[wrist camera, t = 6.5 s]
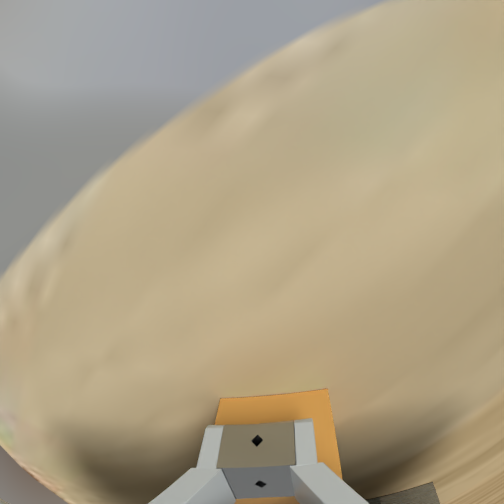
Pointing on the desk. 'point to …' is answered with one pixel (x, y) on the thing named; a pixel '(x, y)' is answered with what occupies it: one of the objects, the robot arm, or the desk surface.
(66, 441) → the desk surface
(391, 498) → the block
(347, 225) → the desk surface
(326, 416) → the plug
